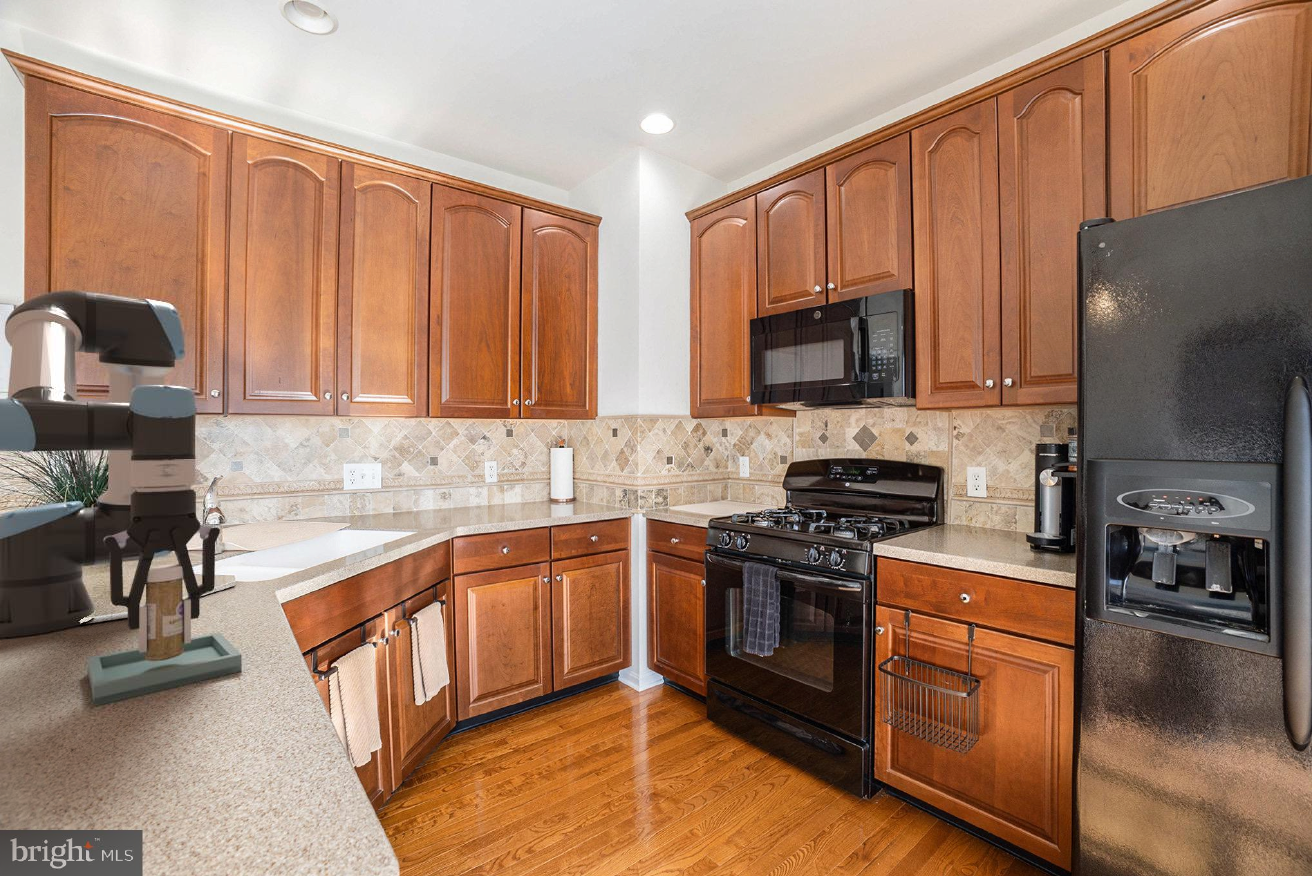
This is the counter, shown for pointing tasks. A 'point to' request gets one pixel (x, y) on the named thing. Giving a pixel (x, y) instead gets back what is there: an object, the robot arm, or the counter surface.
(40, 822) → the counter surface
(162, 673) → the tray
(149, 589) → the sprinkles bottle
